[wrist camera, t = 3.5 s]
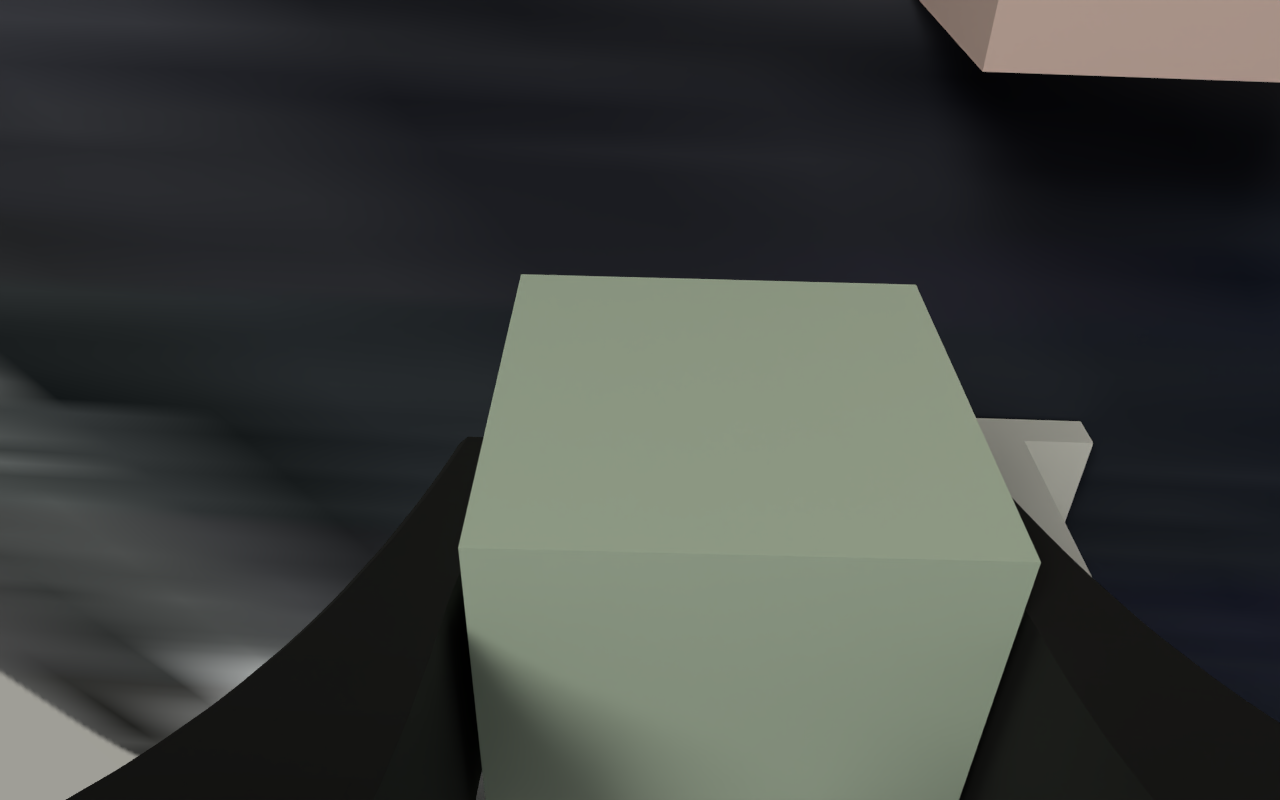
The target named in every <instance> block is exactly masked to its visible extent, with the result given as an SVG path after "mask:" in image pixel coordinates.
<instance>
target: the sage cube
mask: <svg viewBox="0 0 1280 800" xmlns="http://www.w3.org/2000/svg"><path fill="white" fill-rule="evenodd" d="M458 551H459V560H460V569H461V578H462V588H463V597H464V606H465V615H466V625H467V634H468V643H469V653H470V662H471V671H472V680H473V690H474V699H475V708H476V717H477V727H478V736H479V745H480V755H481V764H482V773H483V782H484V792H485V800H959V798H960V795H961V792H962V789H963V787H964V784H965V781H966V778H967V775H968V772H969V769H970V766H971V763H972V761H973V758H974V755H975V752H976V749H977V746H978V743H979V740H980V737H981V734H982V732H983V729H984V726H985V723H986V720H987V717H988V714H989V711H990V708H991V706H992V703H993V700H994V697H995V694H996V691H997V688H998V685H999V682H1000V680H1001V677H1002V674H1003V671H1004V668H1005V665H1006V662H1007V659H1008V656H1009V654H1010V651H1011V648H1012V645H1013V642H1014V639H1015V636H1016V633H1017V630H1018V628H1019V625H1020V622H1021V619H1022V616H1023V613H1024V610H1025V607H1026V604H1027V602H1028V599H1029V596H1030V593H1031V590H1032V587H1033V584H1034V581H1035V578H1036V576H1037V573H1038V570H1039V567H1040V564H1041V561H1040V559H1039V557H1038V554H1037V552H1036V550H1035V548H1034V546H1033V543H1032V541H1031V539H1030V537H1029V534H1028V532H1027V530H1026V528H1025V526H1024V523H1023V521H1022V519H1021V517H1020V515H1019V512H1018V510H1017V508H1016V506H1015V503H1014V501H1013V499H1012V497H1011V495H1010V492H1009V490H1008V488H1007V486H1006V484H1005V481H1004V479H1003V477H1002V475H1001V472H1000V470H999V468H998V466H997V464H996V461H995V459H994V457H993V455H992V453H991V450H990V448H989V446H988V444H987V441H986V439H985V437H984V435H983V433H982V430H981V428H980V426H979V424H978V422H977V419H976V417H975V415H974V413H973V410H972V408H971V406H970V404H969V402H968V399H967V397H966V395H965V393H964V391H963V388H962V386H961V384H960V382H959V379H958V377H957V375H956V373H955V371H954V368H953V366H952V364H951V362H950V359H949V357H948V355H947V353H946V351H945V348H944V346H943V344H942V342H941V340H940V337H939V335H938V333H937V331H936V328H935V326H934V324H933V322H932V320H931V317H930V315H929V313H928V311H927V309H926V306H925V304H924V302H923V300H922V297H921V295H920V293H919V291H918V289H917V286H916V285H905V284H867V283H829V282H791V281H753V280H715V279H677V278H639V277H601V276H563V275H525V274H521V277H520V282H519V286H518V290H517V295H516V299H515V303H514V308H513V312H512V316H511V321H510V325H509V329H508V334H507V338H506V342H505V347H504V351H503V355H502V360H501V364H500V368H499V373H498V377H497V382H496V386H495V390H494V395H493V399H492V403H491V408H490V412H489V416H488V421H487V425H486V429H485V434H484V438H483V442H482V447H481V451H480V455H479V460H478V464H477V468H476V473H475V477H474V481H473V486H472V490H471V494H470V499H469V503H468V507H467V512H466V516H465V520H464V525H463V529H462V533H461V538H460V542H459V547H458Z"/></svg>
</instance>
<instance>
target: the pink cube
mask: <svg viewBox="0 0 1280 800" xmlns="http://www.w3.org/2000/svg"><path fill="white" fill-rule="evenodd" d="M919 1H920V2H921V3H922V4H923V5H924V6H925V7H926V9H927V10H928V11H929V12H930V13H931V14H932V15H933V16H934V18H935V19H936V20H937V21H938V22H939V23H940V24H941V25H942V27H943V28H944V29H945V30H946V31H947V32H948V33H949V34H950V36H951V37H952V38H953V39H954V40H955V41H956V42H957V43H958V45H959V46H960V47H961V48H962V49H963V50H964V51H965V52H966V54H967V55H968V56H969V57H970V58H971V59H972V60H973V61H974V63H975V64H976V65H977V66H978V67H979V68H980V69H981V70H982V72H1007V73H1034V74H1061V75H1089V76H1116V77H1144V78H1171V79H1199V80H1226V81H1254V82H1280V0H919Z"/></svg>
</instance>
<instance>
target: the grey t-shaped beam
mask: <svg viewBox="0 0 1280 800" xmlns="http://www.w3.org/2000/svg"><path fill="white" fill-rule="evenodd" d="M976 419H977V422H978V424H979V426H980V428H981V430H982V433H983V435H984V437H985V439H986V441H987V444H988V446H989V448H990V450H991V453H992V455H993V457H994V459H995V461H996V464H997V466H998V468H999V470H1000V472H1001V475H1002V477H1003V479H1004V481H1005V484H1006V486H1007V488H1008V490H1009V492H1010V495H1011V497H1012V498H1013V499H1014V500H1015V501H1016V502H1017V503H1018V504H1019V505H1020V506H1021V507H1022V508H1023V510H1024V511H1025V512H1026V513H1027V514H1028V515H1029V516H1030V517H1031V518H1032V519H1033V520H1034V521H1035V522H1036V523H1037V524H1038V525H1039V526H1040V527H1041V528H1042V529H1043V530H1044V531H1045V532H1046V533H1047V534H1048V535H1049V536H1050V537H1051V538H1052V539H1053V540H1054V541H1055V542H1056V543H1057V544H1058V545H1059V546H1060V547H1061V548H1062V549H1063V550H1064V551H1065V552H1066V553H1067V554H1068V555H1069V556H1070V557H1071V558H1072V559H1073V560H1074V561H1075V562H1076V563H1077V564H1078V565H1079V566H1080V567H1081V568H1083V569H1084V570H1085V571H1086V572H1087V573H1088V574H1089V575H1090V576H1091V574H1090V572H1089V570H1088V568H1087V566H1086V564H1085V562H1084V560H1083V558H1082V556H1081V554H1080V552H1079V550H1078V548H1077V546H1076V544H1075V542H1074V540H1073V538H1072V536H1071V534H1070V532H1069V530H1068V528H1067V526H1066V524H1065V520H1066V518H1067V515H1068V512H1069V509H1070V507H1071V504H1072V501H1073V498H1074V495H1075V493H1076V490H1077V487H1078V484H1079V482H1080V479H1081V476H1082V473H1083V470H1084V468H1085V465H1086V462H1087V459H1088V456H1089V454H1090V451H1091V448H1092V445H1093V442H1092V440H1091V438H1090V437H1089V435H1088V433H1087V432H1086V430H1085V428H1084V426H1083V425H1082V423H1081V421H1052V420H1021V419H989V418H976ZM1091 577H1092V576H1091Z"/></svg>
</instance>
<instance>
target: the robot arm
mask: <svg viewBox="0 0 1280 800" xmlns="http://www.w3.org/2000/svg"><path fill="white" fill-rule="evenodd" d="M483 438H484V437H467V438H466V439H465V440H463V441H462V442H461V443H460V444H459V445H458V447H457V448H456V450H455V451H454V453H453V454H452V456H451V457H450V459H449V460H448V462H447V463H446V465H445V466H444V468H443V469H442V471H441V472H440V473H439V475H438V476H437V478H436V479H435V480H434V482H433V483H432V485H431V486H430V487H429V489H428V490H427V491H426V493H425V494H424V495H423V497H422V498H421V499H420V501H419V502H418V503H417V505H416V506H415V507H414V508H413V510H412V511H411V512H410V513H409V515H408V516H407V517H406V518H405V520H404V521H403V522H402V523H401V525H400V526H399V527H398V528H397V529H396V531H395V532H394V533H393V534H392V536H391V537H390V538H389V539H388V541H387V542H386V543H385V544H384V545H383V547H382V548H381V549H380V550H379V551H378V552H377V553H376V555H375V556H374V557H373V558H372V559H371V560H370V561H369V562H368V563H367V564H366V566H365V567H364V568H363V569H362V570H361V571H360V572H359V573H358V574H357V575H356V576H355V578H354V579H353V580H352V581H351V582H350V583H349V584H348V585H347V586H346V587H345V589H344V590H343V591H342V592H341V593H340V594H339V595H338V596H337V597H336V598H335V599H334V600H333V601H332V602H331V603H330V604H329V605H328V606H327V607H326V608H325V609H324V610H323V611H322V612H321V613H320V614H319V615H318V616H317V617H316V618H315V619H314V620H313V621H312V622H311V623H310V624H308V625H307V626H306V627H305V628H304V629H303V630H302V631H301V632H300V633H299V634H298V635H296V636H295V637H294V638H293V639H292V640H291V641H290V642H289V643H288V644H287V645H286V646H284V647H283V648H282V649H281V650H280V651H279V652H278V653H276V654H275V655H274V656H273V657H272V658H270V659H269V660H268V661H267V662H266V663H264V664H263V665H262V666H261V667H260V668H258V669H257V670H256V671H255V672H254V673H252V674H251V675H250V676H249V677H248V678H246V679H245V680H244V681H243V682H242V683H240V684H239V685H238V686H237V687H235V688H234V689H233V690H231V691H230V692H229V693H228V694H226V695H225V696H224V697H222V698H221V699H220V700H219V701H217V702H216V703H215V704H213V705H212V706H211V707H209V708H208V709H207V710H205V711H204V712H202V713H201V714H199V715H198V716H197V717H195V718H194V719H192V720H191V721H189V722H188V723H187V724H185V725H184V726H182V727H181V728H179V729H178V730H177V731H175V732H174V733H172V734H171V735H169V736H168V737H167V738H165V739H164V740H162V741H161V742H159V743H158V744H156V745H155V746H153V747H152V748H150V749H149V750H147V751H146V752H144V753H143V754H141V755H140V756H138V757H137V758H135V759H133V760H132V761H130V762H129V763H127V764H126V765H124V766H122V767H121V768H119V769H118V770H116V771H114V772H113V773H111V774H109V775H107V776H106V777H104V778H102V779H101V780H99V781H97V782H95V783H94V784H92V785H90V786H89V787H87V788H85V789H83V790H82V791H80V792H78V793H77V794H75V795H73V796H71V797H70V798H68V799H66V800H476V795H477V790H478V785H479V780H480V776H481V772H482V764H481V755H480V745H479V736H478V727H477V717H476V708H475V699H474V690H473V680H472V671H471V662H470V653H469V643H468V634H467V625H466V615H465V606H464V597H463V588H462V578H461V569H460V560H459V551H458V547H459V542H460V538H461V533H462V529H463V525H464V520H465V516H466V512H467V507H468V503H469V499H470V494H471V490H472V486H473V481H474V477H475V473H476V468H477V464H478V460H479V455H480V451H481V447H482V442H483ZM1012 499H1013V498H1012ZM1013 501H1014V503H1015V506H1016V508H1017V510H1018V512H1019V515H1020V517H1021V519H1022V521H1023V523H1024V526H1025V528H1026V530H1027V532H1028V534H1029V537H1030V539H1031V541H1032V543H1033V546H1034V548H1035V550H1036V552H1037V554H1038V557H1039V559H1040V561H1041V564H1040V567H1039V570H1038V573H1037V576H1036V578H1035V581H1034V584H1033V587H1032V590H1031V593H1030V596H1029V599H1028V602H1027V604H1026V607H1025V610H1024V613H1023V616H1022V619H1021V622H1020V625H1019V628H1018V630H1017V633H1016V636H1015V639H1014V642H1013V645H1012V648H1011V651H1010V654H1009V656H1008V659H1007V662H1006V665H1005V668H1004V671H1003V674H1002V677H1001V680H1000V682H999V685H998V688H997V691H996V694H995V697H994V700H993V703H992V706H991V708H990V711H989V714H988V717H987V720H986V723H985V726H984V729H983V732H982V734H981V737H980V740H979V743H978V746H977V749H976V752H975V755H974V758H973V761H972V763H971V766H970V769H969V772H968V775H967V778H966V781H965V784H964V787H963V789H962V792H961V795H960V798H959V800H1280V723H1279V722H1277V721H1276V720H1274V719H1273V718H1271V717H1270V716H1268V715H1267V714H1265V713H1264V712H1262V711H1261V710H1259V709H1258V708H1256V707H1255V706H1253V705H1252V704H1250V703H1249V702H1247V701H1246V700H1244V699H1243V698H1241V697H1240V696H1238V695H1237V694H1236V693H1234V692H1233V691H1231V690H1230V689H1229V688H1227V687H1226V686H1224V685H1223V684H1221V683H1220V682H1219V681H1217V680H1216V679H1214V678H1213V677H1212V676H1210V675H1209V674H1208V673H1207V672H1205V671H1204V670H1203V669H1201V668H1200V667H1199V666H1197V665H1196V664H1195V663H1193V662H1192V661H1191V660H1190V659H1188V658H1187V657H1186V656H1184V655H1183V654H1182V653H1180V652H1179V651H1178V650H1176V649H1175V648H1174V647H1173V646H1171V645H1170V644H1169V643H1167V642H1166V641H1165V640H1164V639H1162V638H1161V637H1160V636H1159V635H1157V634H1156V633H1155V632H1154V631H1153V630H1151V629H1150V628H1149V627H1148V626H1146V625H1145V624H1144V623H1143V622H1142V621H1140V620H1139V619H1138V618H1137V617H1136V616H1135V615H1134V614H1132V613H1131V612H1130V611H1129V610H1128V609H1127V608H1126V607H1125V606H1123V605H1122V604H1121V603H1120V602H1119V601H1118V600H1117V599H1115V598H1114V597H1113V596H1112V595H1111V594H1110V593H1109V592H1108V591H1106V590H1105V589H1104V588H1103V587H1102V586H1101V585H1100V584H1099V583H1098V582H1096V581H1095V580H1094V579H1093V578H1092V577H1091V576H1090V575H1089V574H1088V573H1087V572H1086V571H1085V570H1084V569H1083V568H1081V567H1080V566H1079V565H1078V564H1077V563H1076V562H1075V561H1074V560H1073V559H1072V558H1071V557H1070V556H1069V555H1068V554H1067V553H1066V552H1065V551H1064V550H1063V549H1062V548H1061V547H1060V546H1059V545H1058V544H1057V543H1056V542H1055V541H1054V540H1053V539H1052V538H1051V537H1050V536H1049V535H1048V534H1047V533H1046V532H1045V531H1044V530H1043V529H1042V528H1041V527H1040V526H1039V525H1038V524H1037V523H1036V522H1035V521H1034V520H1033V519H1032V518H1031V517H1030V516H1029V515H1028V514H1027V513H1026V512H1025V511H1024V510H1023V508H1022V507H1021V506H1020V505H1019V504H1018V503H1017V502H1016V501H1015V500H1014V499H1013Z"/></svg>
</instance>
